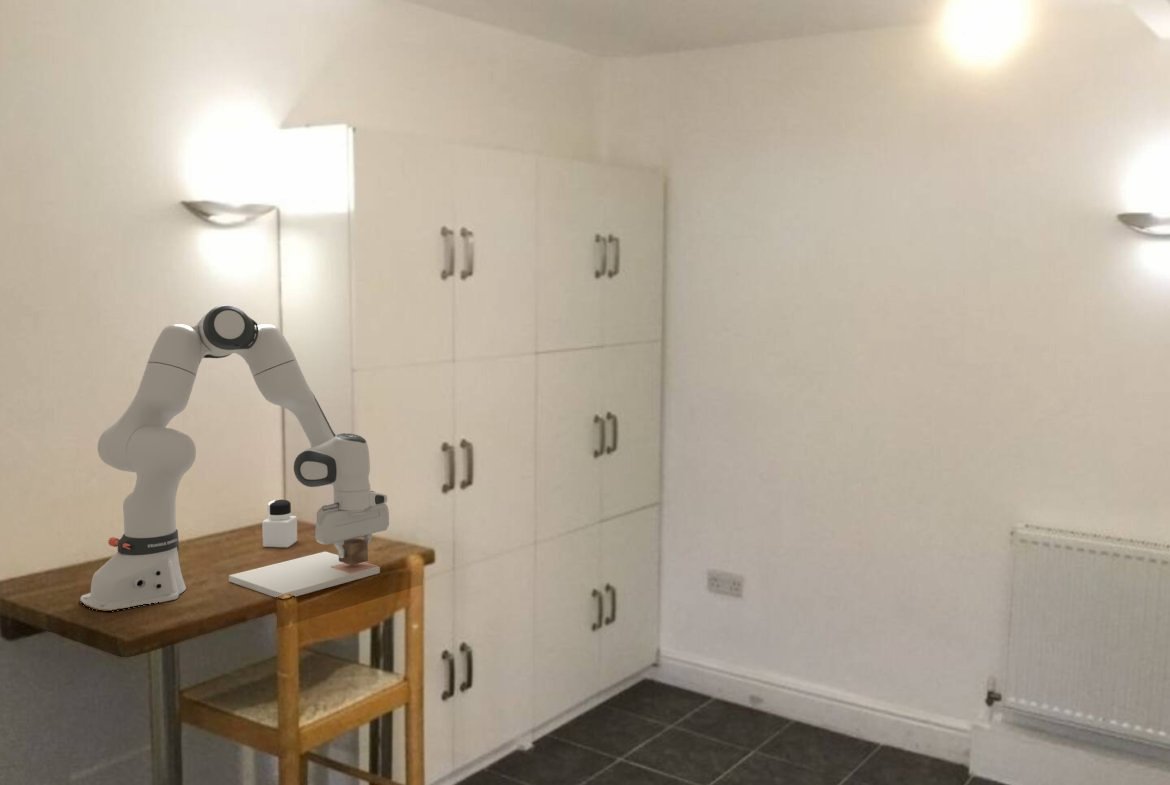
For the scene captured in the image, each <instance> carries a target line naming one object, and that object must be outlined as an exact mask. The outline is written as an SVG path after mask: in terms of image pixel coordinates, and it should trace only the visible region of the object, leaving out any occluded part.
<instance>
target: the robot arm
mask: <svg viewBox="0 0 1170 785" xmlns="http://www.w3.org/2000/svg"><path fill="white" fill-rule="evenodd" d="M233 354H236V355H238V356H240V357H242V359H243V360H244V361H245V362H246V365H248V367H249V370H250V373H251V375H252V377H253V381H254V382H255V385H256V387H257V388H258V390H259V391H260V393H261V395H262V396H263V398H264V399H265V400H266V401H267V402H269V403H271V404H273V405H276V406H279V407H282V408H284V409H286V410H288V411H290V413H292V414H293V415H294V416H295V417H296V419H297V420H298V422H299V424H300V426H301V429H302V430H303V432H304V433H305V436H306V437H307V439H308V442H309V444H310V447H309V448H307V449H305V450H303V451H301V453H299V454H298V455H297V456H296V457H295V460H294V463H293V472H294V475H295V478H296V479H297V481H299V483H300V484H302V485H303V486H305V487H309V488H317V487H323V486H329V485H332V488H333V503H331V504H327V505H325V504H324V505H322V506H321V507H320V508H319V509H318V510H317V512H316V523H315V532H314V533H315V534H314V535H315V539H314V540H315V541H316V542H317V543H319V544H321V545H331V544H333V546H334V547H335V549H336V550H337V555H338V557H339V558H345V557H347V550H344V549H343V547H342V545H343V544H344V540H347V539H352V538H360V537H361V538H363V539H362V540H365V541H368V546H369V545H370V543H371V540H372V538H373V534H376V533H381V532H385V531H387V530H388V528H389V527H390V511H389V507H388V505H387V504H386V503H388V496H387V494H385V493H381V492H376V491H373V490H371V484H370V480H369V476H370V472H371V460H370V451H369V446H368V442H367V440H366V439H365V438H364V437H363V436H361V435H359V434H355V433H338V434H336V433H335V432H334V431H333V428H332V427H331V425H330V423H329V421H328V419H327V416H326V415H325V413H324V411H323V410H322V407H321V405H320V404H319V402H318V400H317V398H316V396H315V395H314V393H313V391H312V390H311V387H310V386H309V384H308V383H307V380H306V379H305V376H304V374H303V371H302V370H301V367H300V365H299V362H298V360H297V358H296V356H295V354H294V352H293V349H292V348H291V346H290V345H289V342H288V340H287V339H286V337H285V336H284V335H283V333H282V332H281V330H280V329H279V328H278V327H277V326H276V325H275V324H269V323H268V324H266V323H265V324H262V323H261V324H258V323H257V322H256V321H255V320H254V319H252V318H251V317H250V316H248V315H247V313H245V312H244V311H243V310H242V309H240V308H239V307H237V306H234V305H230V304H222V305H218V306H215V307H214V308H212V309H210V310H209V311H208V312H207V313H206V314H204V315H203V317H201V319H200V320H199V321H198V322H197V324H196V325H190V326H189V325H188V324H187V325H186V324H184V323H183V324H182V323H173V324H169V325H167V326H165V327H164V328H163V329H162V330H161V331H160V333H159V335H158V337H157V338H156V341H155V342H154V345H153V347H152V350H151V352H150V354H149V358H148V361H147V362H146V366H145V368H144V373H143V375H142V378H141V380H140V384H139V386H138V390H137V391H136V394H135V396H134V398H133V400H132V401H131V402H130V403H129V404H130V405H129V406H128V407H127V409H126V410H125V411H124V413H123V414H122V416H120V418H119V419H118V420H117V421H116V422H114V424H112V425H111V426H108V428H107V429H105V430H104V431H103V432H102V433H101V435H100V436H99V439H98V442H97V453H98V457H99V458H100V459H101V461H102V462H103V463H104V464H106V465H108V466H110V467H112V468H113V469H117V470H120V471H123V472H130V473H135V474H136V480H135V481H136V482H135V485H134V488H133V491H132V492H131V493H129V494H128V495H127V496H126V497H125V499H124V500H123V503H122V511H123V513H122V514H123V530H124V531H123V532H124V533H123V534H122V536H121V538H120V539H119V537H118V538H116V537H114V536H112V537H111V536H110V538H108V540H107V543H108V545H109V546H111V547H114V548H117V550H116V551H117V552H116V553H115V554H114V555H112V556H111V557H110V559H108V560H107V561H106V562H105V563H104V564H103V565H102V566H101V567H99V569H98V570H96V571H95V572H94V573H93V575H92V580H91V584H90V592H88V593H85V594H82V595H81V596H80V601H82V602H83V603H84V604H86V605H89V606H91V607H94V608H98V609H108V610H112V609H117V608H125V607H130V606H136V605H143V604H149V605H152V604H151V603H154V604H158V602H159V603H164V602H169V601H173V600H177V599H178V598H179V596H180V595H181V594H183V592H185V590H186V589H187V586H186V584H185V580H184V578H183V574H182V571H181V566H180V561H179V560H180V559H179V553H178V552H179V546H180V545H179V530H178V529H177V527H176V526H177V525H176V498H177V492H178V488H179V485H180V483H181V480H182V478H183V477H184V475H185V474H186V473H187V472H188V471H190V469H191V468H192V467H193V465H194V463H195V460H196V458H197V457H196V456H197V449H196V444H195V442H194V440H193V439H192V437H190V436H189V435H188V434H185V433H183V432H181V431H178V430H177V429H174V428H171V427H170V428H169V427H168V428H167V425H168V424H169V423H170V421H172V420H173V418H175V416H177V415H179V414H180V413H182V412H183V411H185V409H186V408H187V406H188V404H189V400H190V398H191V394H192V391H193V386H194V383H195V380H196V378H197V374H198V370H199V367H200V364H201V362H202V360H203V359H205V358H206V359H222V358H226V357H229V356H231V355H233ZM143 606H144V605H143Z"/></svg>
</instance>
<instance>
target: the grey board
mask: <svg viewBox="0 0 1170 785" xmlns="http://www.w3.org/2000/svg"><path fill="white" fill-rule="evenodd" d="M380 572H381V567H380V566H378V565H376V564H373V563H369V562H367V561H365V562H362V563H358V564H354V565H349V564H346V563H343V562H340V561H339V557H338V554H335V553H331V552H329V551H322V552H317V553H314V554H309V555H305V556H302V557H298V558H293V559H290V560H286V561H282V562H278V563H273V564H269V565H266V566H261V567H257V568H252V569H249V570H245V571H241V572H237V573H233V574H229V575H228V581H229V583H233V584H235V585H238V586H241V587H244V588H247V589H250V590H253V591H254V592H259V593H261V594H264V595H267V596H269V597H274V598H276V597H278V596H281V595H287V594H291V595H294V596H295V597H299V596H303V595H306V594H307V595H308V594H310V593H314V592H317V591H321V590H323V589H327V588H330V587H331V588H332V587H335V586H338V585H339V586H340V585H341V584H345V583H350V582H352V581H355V580H361V579H364V578H367V577H370V576H374V575H378V574H381V573H380ZM295 597H294V598H295ZM276 599H277V598H276Z"/></svg>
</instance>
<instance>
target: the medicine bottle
mask: <svg viewBox="0 0 1170 785" xmlns="http://www.w3.org/2000/svg"><path fill="white" fill-rule="evenodd" d="M291 505H292V504H291V501H289V500H287V499H274V500H271V501H269V502H267V518H266V519H264V520H263V521H262V522H261V524H262V525H261V527H262V528H261V530H262V531H261V532H262V547H264V548H285V549H287V548H289V547H290V546H292V545H294V544H295V543H296V542H297V541H298V516H296V515H292V506H291Z"/></svg>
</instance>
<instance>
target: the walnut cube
mask: <svg viewBox="0 0 1170 785" xmlns="http://www.w3.org/2000/svg"><path fill="white" fill-rule="evenodd" d="M342 547H343V549H344V550H347V557H345V558H339V561H340V562H343V563H346V564H349V565H354V564H358V563H362V562H368V561H369V556H368V555H369V554H368V553H369V545H368V541H365V540H363V539H361V538H359V537H356V538H352V539H347V540H344V544H343V545H342Z"/></svg>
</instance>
